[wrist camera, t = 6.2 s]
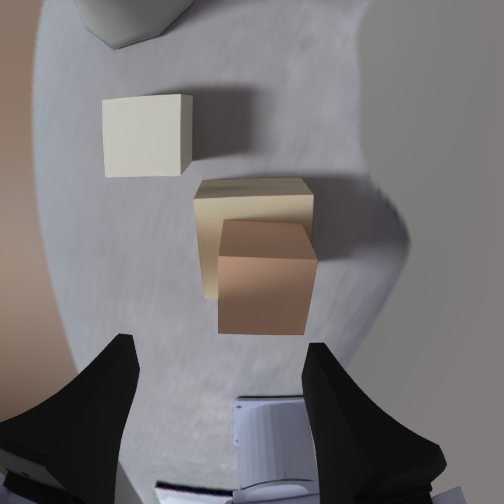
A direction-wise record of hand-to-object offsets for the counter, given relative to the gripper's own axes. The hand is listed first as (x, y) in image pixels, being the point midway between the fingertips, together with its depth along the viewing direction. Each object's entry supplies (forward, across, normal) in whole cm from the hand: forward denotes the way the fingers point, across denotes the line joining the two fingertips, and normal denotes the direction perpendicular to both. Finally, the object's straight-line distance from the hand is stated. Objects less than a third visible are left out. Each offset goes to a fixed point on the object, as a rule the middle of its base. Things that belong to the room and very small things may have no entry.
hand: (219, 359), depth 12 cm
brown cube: (+6, -2, -2) cm, 6 cm away
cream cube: (+10, +4, -8) cm, 13 cm away
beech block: (+10, -2, -2) cm, 10 cm away
